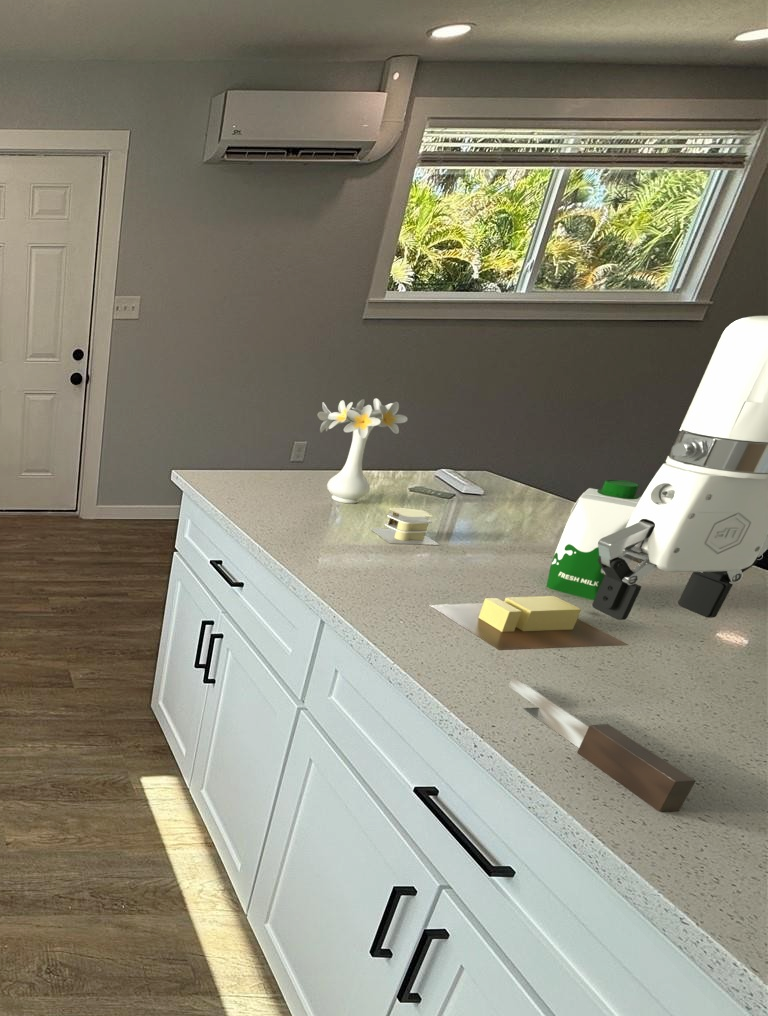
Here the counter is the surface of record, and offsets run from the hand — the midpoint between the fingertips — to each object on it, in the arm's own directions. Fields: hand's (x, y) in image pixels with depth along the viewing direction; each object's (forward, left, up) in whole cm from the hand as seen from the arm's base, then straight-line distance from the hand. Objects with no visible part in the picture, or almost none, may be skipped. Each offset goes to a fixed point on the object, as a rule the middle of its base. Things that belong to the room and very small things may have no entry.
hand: (651, 612), depth 67 cm
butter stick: (-17, -26, -17) cm, 35 cm away
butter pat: (-11, -26, -17) cm, 33 cm away
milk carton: (-35, -37, -18) cm, 54 cm away
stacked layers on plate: (-25, -66, -18) cm, 73 cm away
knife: (+1, 0, -18) cm, 18 cm away
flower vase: (-27, -91, -18) cm, 97 cm away
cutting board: (-15, -26, -18) cm, 35 cm away
